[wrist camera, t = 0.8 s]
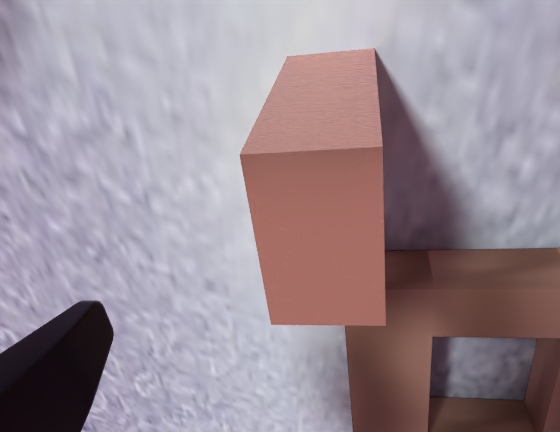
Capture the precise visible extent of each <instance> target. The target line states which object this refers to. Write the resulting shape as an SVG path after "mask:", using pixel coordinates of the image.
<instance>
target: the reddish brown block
mask: <svg viewBox="0 0 560 432" xmlns="http://www.w3.org/2000/svg"><path fill="white" fill-rule="evenodd" d="M240 159H241V164H242V170H243V175H244V181H245V186H246V191H247V197H248V202H249V208H250V213H251V218H252V224H253V229H254V235H255V240H256V245H257V251H258V256H259V262H260V267H261V272H262V278H263V283H264V289H265V294H266V299H267V305H268V310H269V316H270V321H271V325H361V326H386V311H385V250H384V190H383V143H382V131H381V120H380V108H379V96H378V84H377V72H376V60H375V49H374V48H373V49H362V50H352V51H341V52H330V53H320V54H309V55H298V56H287V58H286V60H285V63H284V65H283V67H282V69H281V71H280V73H279V75H278V77H277V79H276V81H275V83H274V85H273V87H272V89H271V91H270V93H269V95H268V97H267V100H266V102H265V104H264V106H263V108H262V110H261V112H260V114H259V116H258V118H257V120H256V122H255V124H254V126H253V128H252V130H251V132H250V134H249V137H248V139H247V141H246V143H245V145H244V147H243V149H242V151H241V153H240Z"/></svg>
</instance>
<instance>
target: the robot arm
mask: <svg viewBox="0 0 560 432" xmlns="http://www.w3.org/2000/svg"><path fill="white" fill-rule="evenodd" d="M113 336H114V332H113V327H112V325H111V323H110V320H109V318H108V315H107V313H106V311H105V308H104V306H103V304H102V303H101V302H100V301H80V302H78V303H76V304H75V305H73V306H72V307H70V308H69V309H67V310H66V311H64V312H63V313H61V314H60V315H58V316H57V317H55V318H54V319H52V320H51V321H49V322H48V323H46V324H45V325H43V326H42V327H40V328H38V329H37V330H35V331H34V332H32V333H31V334H29V335H28V336H26V337H25V338H23V339H22V340H20V341H19V342H17V343H16V344H14V345H13V346H11V347H10V348H8V349H7V350H5V351H4V352H2V353H1V354H0V432H81V430H82V428H83V425H84V423H85V421H86V419H87V416H88V414H89V411H90V409H91V406H92V403H93V401H94V398H95V395H96V392H97V389H98V385H99V382H100V379H101V376H102V373H103V370H104V367H105V363H106V360H107V357H108V354H109V351H110V348H111V345H112V341H113Z"/></svg>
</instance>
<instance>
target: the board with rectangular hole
mask: <svg viewBox="0 0 560 432" xmlns="http://www.w3.org/2000/svg"><path fill="white" fill-rule="evenodd" d="M385 311H386V326H361V325H345V333H346V346H347V359H348V372H349V385H350V398H351V411H352V424H353V432H560V248H528V249H471V250H413V251H385ZM432 337H502V338H537V342H536V347H535V352H534V357H533V361H532V366H531V371H530V376H529V380H528V385H527V390H526V395H525V399H524V400H499V399H471V398H444V397H429V393H430V374H431V355H432Z"/></svg>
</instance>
